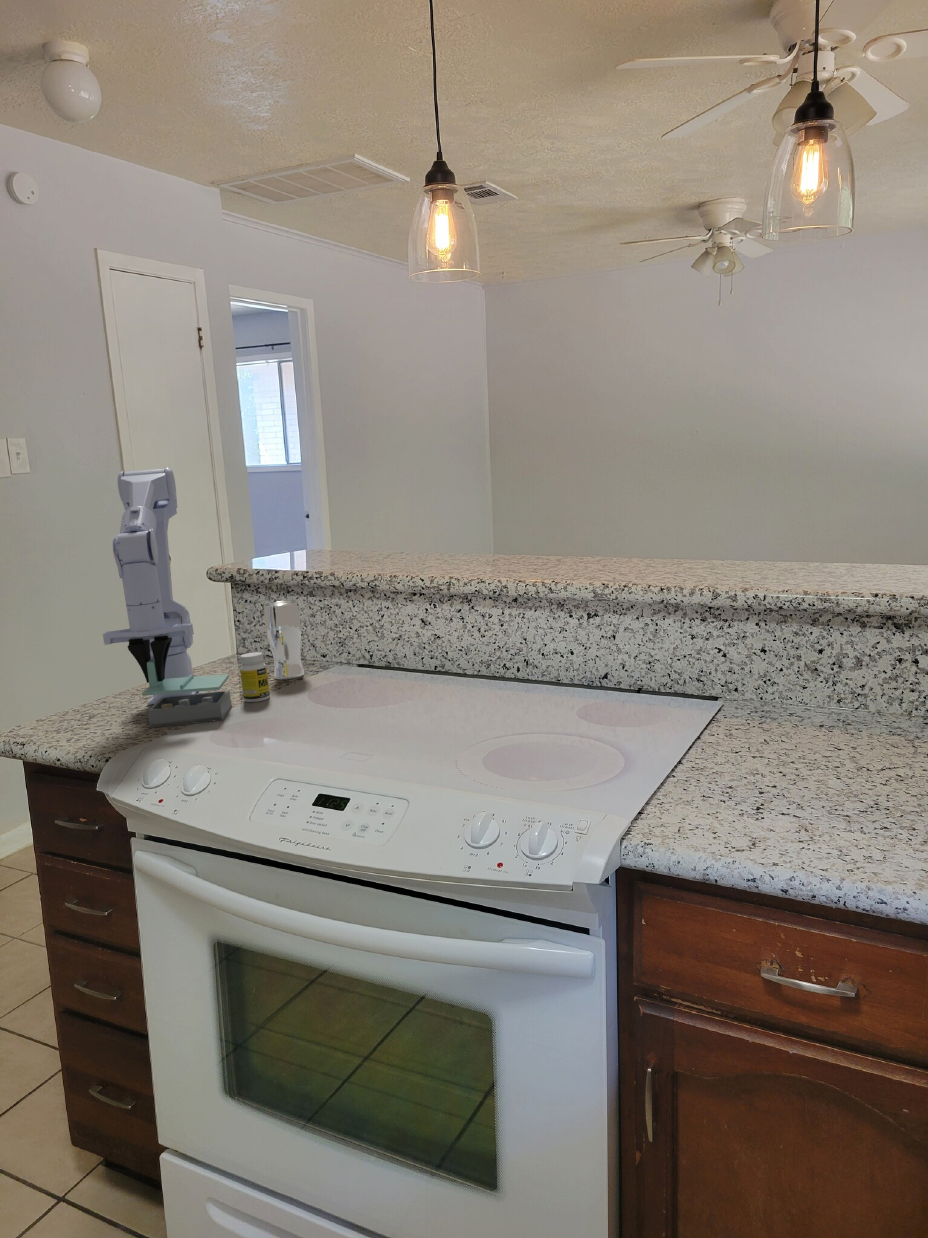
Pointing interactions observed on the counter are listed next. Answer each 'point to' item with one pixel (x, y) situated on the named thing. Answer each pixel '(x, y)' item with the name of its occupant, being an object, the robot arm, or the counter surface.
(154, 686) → the lid
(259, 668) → the supplement bottle
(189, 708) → the tub
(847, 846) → the counter surface
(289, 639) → the beer glass
